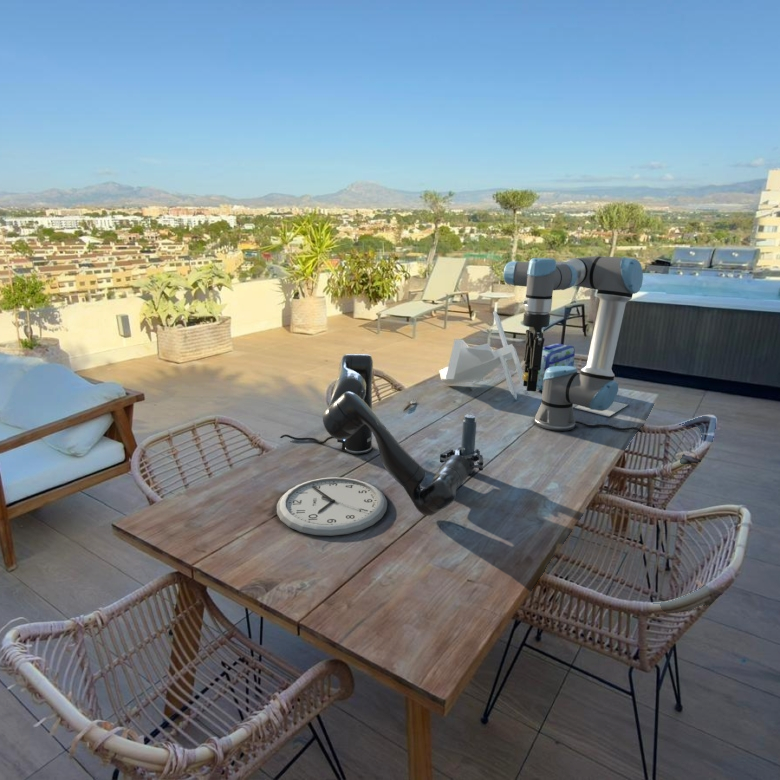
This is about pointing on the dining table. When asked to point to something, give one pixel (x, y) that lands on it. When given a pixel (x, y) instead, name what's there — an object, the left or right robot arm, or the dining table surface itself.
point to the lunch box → (555, 359)
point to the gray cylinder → (468, 436)
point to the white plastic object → (481, 362)
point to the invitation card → (608, 412)
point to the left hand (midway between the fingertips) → (469, 450)
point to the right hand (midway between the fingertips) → (529, 388)
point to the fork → (411, 403)
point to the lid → (526, 376)
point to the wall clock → (331, 506)
